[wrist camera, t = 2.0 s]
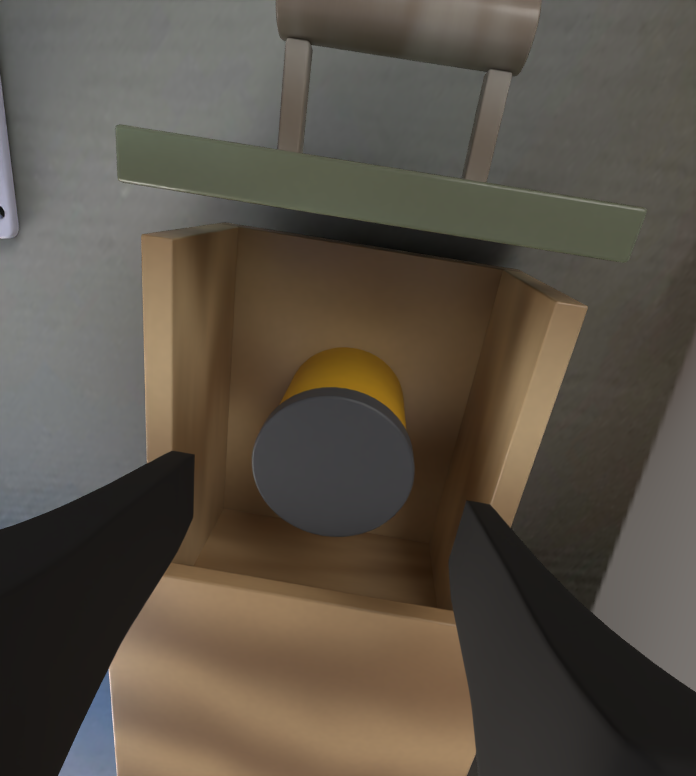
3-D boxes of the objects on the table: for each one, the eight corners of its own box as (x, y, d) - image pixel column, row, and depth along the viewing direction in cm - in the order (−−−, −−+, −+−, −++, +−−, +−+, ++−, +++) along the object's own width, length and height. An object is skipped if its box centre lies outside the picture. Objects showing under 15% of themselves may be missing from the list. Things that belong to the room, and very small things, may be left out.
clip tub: (291, 333, 18) (256, 383, 13) (418, 354, 18) (430, 412, 13) (280, 444, 20) (245, 524, 15) (394, 463, 19) (397, 550, 15)
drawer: (218, 5, 15) (102, -131, 9) (592, 63, 15) (740, -34, 9) (203, 503, 22) (134, 618, 16) (450, 545, 22) (474, 677, 16)
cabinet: (198, 437, 22) (99, 564, 14) (476, 484, 22) (524, 637, 14) (192, 670, 28) (121, 844, 20) (408, 708, 28) (416, 898, 20)
